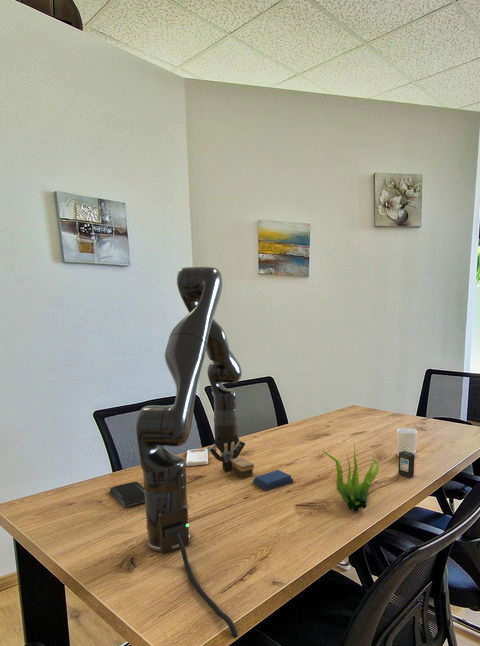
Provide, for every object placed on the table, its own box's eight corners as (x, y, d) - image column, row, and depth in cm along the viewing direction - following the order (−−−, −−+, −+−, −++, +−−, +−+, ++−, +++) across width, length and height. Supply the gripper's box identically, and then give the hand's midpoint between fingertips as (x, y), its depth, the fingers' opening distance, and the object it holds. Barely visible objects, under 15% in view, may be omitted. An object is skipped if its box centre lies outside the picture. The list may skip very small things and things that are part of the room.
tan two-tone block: (254, 475, 144) (253, 464, 144) (242, 478, 142) (241, 467, 141) (237, 465, 153) (237, 454, 153) (225, 468, 151) (225, 457, 150)
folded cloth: (293, 482, 139) (293, 475, 139) (266, 490, 133) (265, 483, 132) (279, 475, 145) (279, 468, 145) (253, 482, 139) (252, 475, 138)
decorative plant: (385, 476, 145) (387, 434, 142) (365, 516, 117) (366, 464, 114) (334, 470, 150) (335, 429, 147) (303, 507, 122) (303, 457, 119)
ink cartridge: (397, 474, 147) (398, 451, 145) (402, 472, 148) (402, 450, 147) (409, 478, 143) (410, 455, 142) (413, 476, 145) (414, 453, 144)
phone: (136, 481, 136) (153, 496, 125) (136, 484, 136) (153, 499, 125) (108, 487, 131) (124, 504, 120) (109, 491, 131) (124, 508, 120)
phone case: (207, 464, 154) (207, 451, 168) (207, 460, 154) (207, 448, 168) (186, 466, 152) (187, 453, 166) (185, 462, 152) (187, 449, 166)
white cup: (419, 454, 166) (420, 429, 165) (411, 460, 160) (412, 434, 158) (400, 451, 171) (401, 426, 169) (392, 456, 164) (393, 431, 162)
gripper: (211, 427, 135) (213, 479, 138) (249, 420, 143) (250, 470, 146) (201, 422, 140) (203, 472, 143) (238, 416, 149) (240, 464, 152)
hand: (227, 471), depth 145 cm, fingers closed
